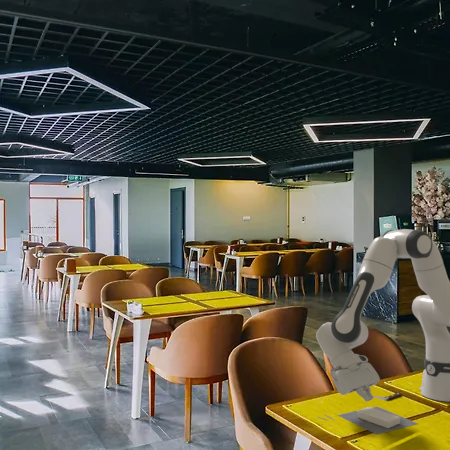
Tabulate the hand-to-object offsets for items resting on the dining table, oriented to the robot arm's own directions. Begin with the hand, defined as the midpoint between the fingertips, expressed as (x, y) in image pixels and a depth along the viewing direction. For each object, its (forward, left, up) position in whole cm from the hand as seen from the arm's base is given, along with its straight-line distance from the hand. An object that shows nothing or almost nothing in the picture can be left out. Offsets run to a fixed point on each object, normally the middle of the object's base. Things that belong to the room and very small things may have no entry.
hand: (369, 399), depth 167 cm
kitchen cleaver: (-18, -14, -7) cm, 24 cm away
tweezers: (+13, -2, -8) cm, 15 cm away
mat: (-1, +2, -7) cm, 7 cm away
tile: (+1, -3, -5) cm, 6 cm away
